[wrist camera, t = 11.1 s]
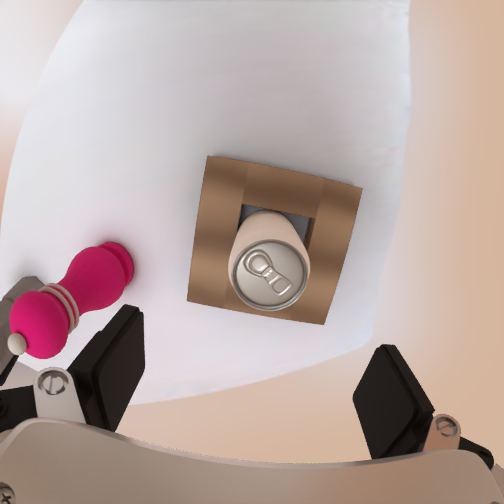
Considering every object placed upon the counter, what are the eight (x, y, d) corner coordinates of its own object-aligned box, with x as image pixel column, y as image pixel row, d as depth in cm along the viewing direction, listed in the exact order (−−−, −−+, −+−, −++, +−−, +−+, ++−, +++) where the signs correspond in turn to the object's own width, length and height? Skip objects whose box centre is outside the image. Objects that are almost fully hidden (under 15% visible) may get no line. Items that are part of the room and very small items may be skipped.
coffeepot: (17, 256, 34) (-60, 299, 17) (55, 273, 34) (-27, 331, 17) (25, 331, 38) (-31, 384, 21) (61, 351, 39) (7, 416, 21)
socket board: (212, 156, 29) (207, 155, 27) (353, 186, 30) (362, 188, 27) (192, 290, 34) (186, 301, 31) (319, 312, 35) (323, 325, 32)
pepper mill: (147, 262, 33) (50, 358, 14) (122, 300, 35) (38, 399, 16) (105, 226, 32) (-14, 288, 13) (83, 267, 34) (-17, 342, 15)
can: (267, 197, 31) (272, 214, 19) (306, 238, 32) (331, 277, 20) (225, 236, 32) (207, 275, 21) (265, 275, 33) (267, 331, 22)
